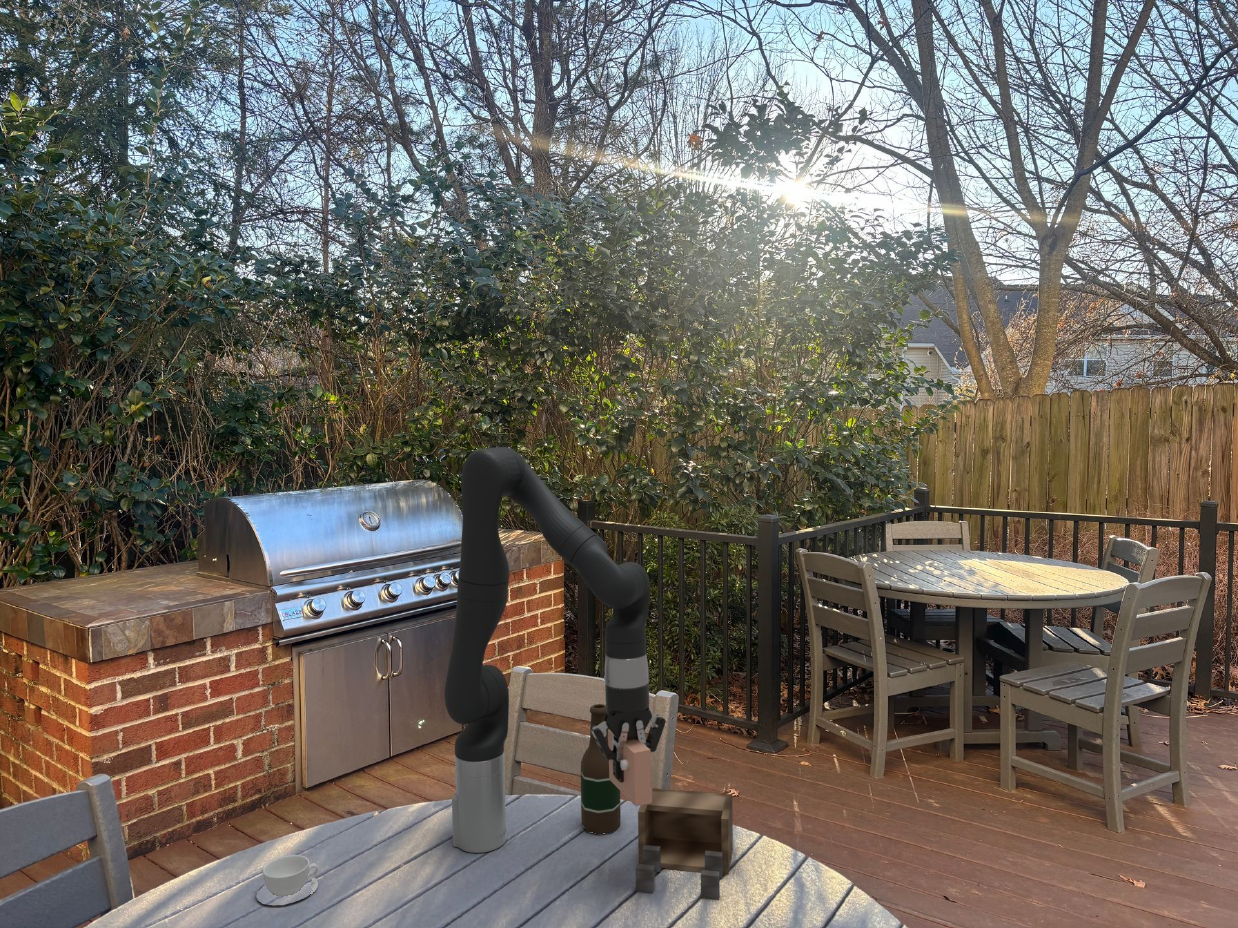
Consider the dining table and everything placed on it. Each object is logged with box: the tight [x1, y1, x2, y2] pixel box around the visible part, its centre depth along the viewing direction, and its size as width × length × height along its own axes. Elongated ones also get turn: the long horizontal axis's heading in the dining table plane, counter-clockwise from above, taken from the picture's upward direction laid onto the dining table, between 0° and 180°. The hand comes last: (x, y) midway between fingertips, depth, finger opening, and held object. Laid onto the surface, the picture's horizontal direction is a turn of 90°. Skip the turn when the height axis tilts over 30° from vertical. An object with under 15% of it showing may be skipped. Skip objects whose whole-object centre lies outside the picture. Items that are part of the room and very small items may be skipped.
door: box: [608, 730, 653, 807], centre depth 146 cm, size 12×4×9 cm, turn 22°
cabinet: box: [635, 787, 734, 901], centre depth 151 cm, size 16×18×10 cm
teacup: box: [262, 854, 319, 896], centre depth 145 cm, size 10×10×5 cm
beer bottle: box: [580, 703, 622, 835], centre depth 166 cm, size 8×8×24 cm
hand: (630, 778), depth 146 cm, fingers closed on door, 3 cm apart
